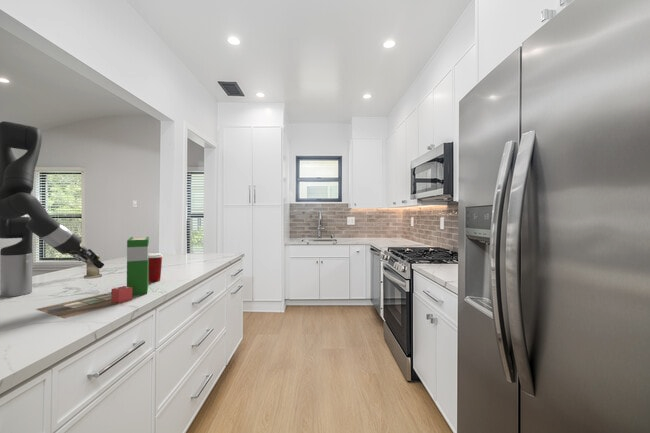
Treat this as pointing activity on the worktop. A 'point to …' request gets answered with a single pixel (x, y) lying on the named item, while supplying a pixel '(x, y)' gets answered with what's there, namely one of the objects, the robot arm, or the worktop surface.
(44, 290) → the worktop surface
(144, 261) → the hardback book
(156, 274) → the paper cup
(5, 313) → the worktop surface
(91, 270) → the birch pawn
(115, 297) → the red die
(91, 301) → the game board
